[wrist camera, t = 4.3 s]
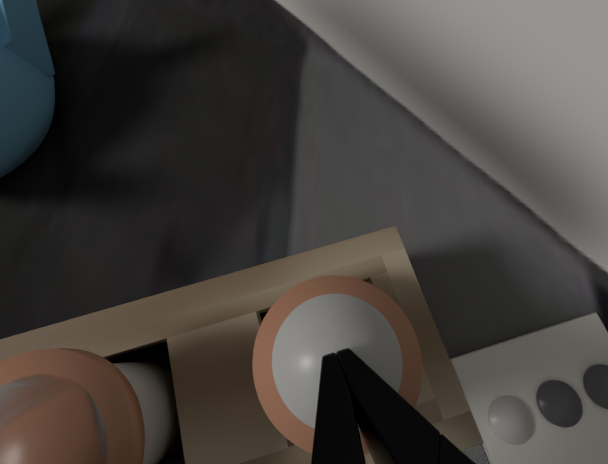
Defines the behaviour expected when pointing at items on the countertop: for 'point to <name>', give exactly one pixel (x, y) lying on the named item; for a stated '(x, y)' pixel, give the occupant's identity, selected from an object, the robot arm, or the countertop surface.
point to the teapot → (23, 83)
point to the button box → (240, 343)
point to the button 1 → (329, 348)
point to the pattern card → (541, 394)
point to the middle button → (85, 409)
